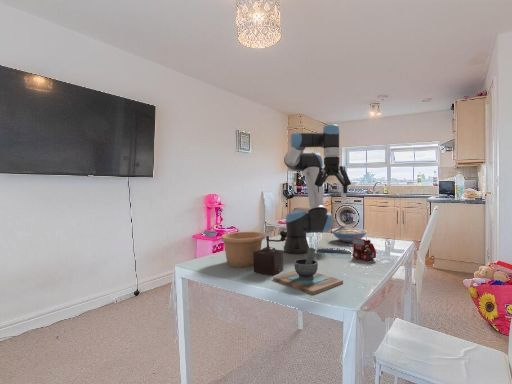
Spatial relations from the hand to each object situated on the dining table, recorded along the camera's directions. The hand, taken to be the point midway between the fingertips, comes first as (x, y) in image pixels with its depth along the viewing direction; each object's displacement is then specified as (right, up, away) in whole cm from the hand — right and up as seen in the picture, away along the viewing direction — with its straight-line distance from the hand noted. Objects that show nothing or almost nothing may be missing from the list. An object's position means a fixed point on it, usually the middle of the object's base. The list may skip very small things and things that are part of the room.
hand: (332, 199), depth 149 cm
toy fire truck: (+19, -31, +8) cm, 37 cm away
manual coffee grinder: (-30, -33, -8) cm, 45 cm away
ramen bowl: (+25, -29, +52) cm, 64 cm away
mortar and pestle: (-17, -32, -25) cm, 44 cm away
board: (-17, -33, -25) cm, 45 cm away
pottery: (-44, -33, +5) cm, 55 cm away
